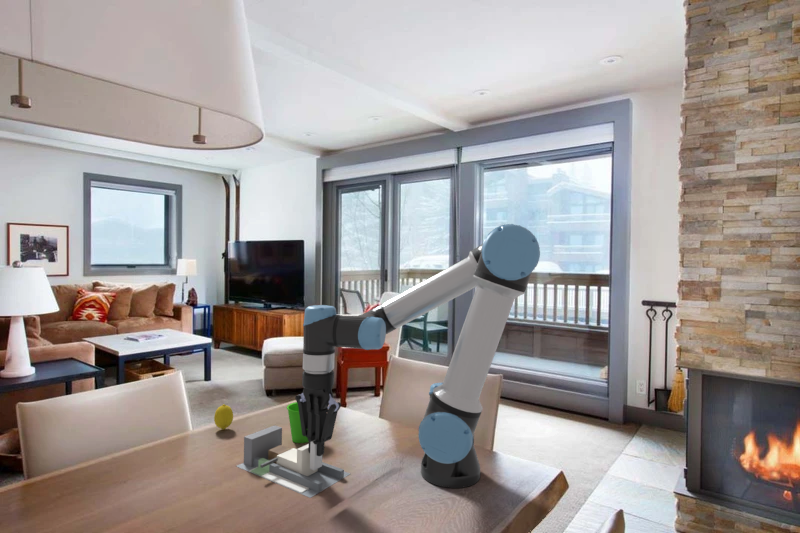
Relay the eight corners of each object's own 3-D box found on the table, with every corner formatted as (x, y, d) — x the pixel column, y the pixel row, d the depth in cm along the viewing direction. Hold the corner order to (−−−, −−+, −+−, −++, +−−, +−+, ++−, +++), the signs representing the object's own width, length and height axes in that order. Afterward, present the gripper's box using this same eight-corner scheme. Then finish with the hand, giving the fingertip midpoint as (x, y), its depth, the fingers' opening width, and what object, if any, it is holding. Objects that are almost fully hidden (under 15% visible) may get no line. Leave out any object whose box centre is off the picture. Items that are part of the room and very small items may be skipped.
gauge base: (350, 478, 113) (351, 445, 113) (310, 503, 101) (310, 466, 101) (278, 451, 127) (278, 422, 127) (235, 470, 115) (236, 438, 115)
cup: (313, 450, 129) (314, 411, 128) (282, 449, 129) (282, 410, 129) (320, 437, 138) (320, 401, 137) (290, 437, 138) (291, 400, 138)
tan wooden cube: (290, 464, 117) (291, 448, 117) (278, 469, 114) (279, 454, 114) (280, 459, 119) (280, 444, 119) (268, 465, 116) (268, 450, 116)
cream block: (317, 470, 113) (318, 443, 113) (284, 488, 104) (285, 458, 104) (293, 461, 118) (293, 435, 118) (259, 478, 109) (260, 449, 109)
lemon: (236, 429, 143) (237, 403, 143) (221, 434, 138) (222, 408, 138) (225, 425, 146) (225, 400, 146) (210, 430, 141) (210, 405, 141)
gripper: (349, 371, 109) (346, 469, 109) (309, 363, 116) (307, 455, 116) (328, 377, 102) (325, 481, 103) (287, 368, 110) (285, 465, 110)
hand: (315, 467), depth 110 cm, fingers closed
